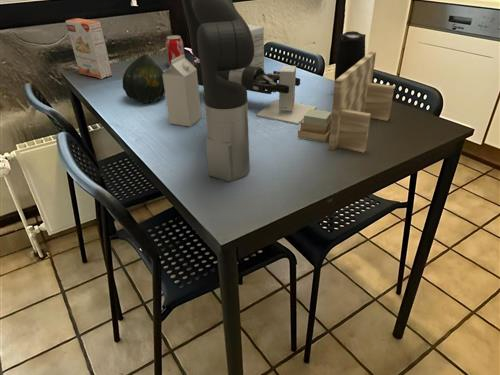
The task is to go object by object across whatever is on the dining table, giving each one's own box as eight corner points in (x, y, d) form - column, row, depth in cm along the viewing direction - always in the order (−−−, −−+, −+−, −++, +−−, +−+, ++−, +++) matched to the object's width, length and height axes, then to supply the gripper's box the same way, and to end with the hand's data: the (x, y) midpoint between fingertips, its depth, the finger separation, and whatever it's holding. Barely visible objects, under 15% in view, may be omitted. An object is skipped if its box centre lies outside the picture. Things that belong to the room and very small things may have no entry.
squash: (118, 94, 125) (143, 53, 123) (112, 83, 137) (134, 45, 135) (156, 116, 134) (181, 79, 131) (147, 104, 146) (169, 69, 143)
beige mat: (297, 124, 116) (297, 123, 116) (256, 115, 122) (256, 114, 122) (316, 108, 126) (316, 106, 125) (277, 100, 132) (277, 99, 132)
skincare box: (292, 111, 120) (294, 71, 114) (278, 110, 121) (279, 71, 114) (294, 103, 125) (296, 65, 118) (281, 103, 126) (282, 65, 119)
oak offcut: (325, 135, 105) (326, 126, 104) (300, 130, 108) (300, 122, 106) (331, 127, 109) (332, 118, 108) (307, 123, 112) (307, 114, 111)
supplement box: (217, 75, 157) (214, 28, 147) (239, 67, 165) (238, 22, 155) (242, 82, 149) (241, 33, 140) (265, 73, 157) (264, 26, 148)
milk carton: (169, 124, 119) (159, 59, 108) (181, 115, 124) (173, 52, 114) (190, 127, 117) (182, 61, 106) (201, 118, 122) (195, 54, 112)
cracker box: (78, 74, 162) (64, 20, 151) (91, 71, 166) (78, 17, 155) (100, 80, 156) (87, 23, 144) (113, 76, 160) (101, 20, 148)
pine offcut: (325, 144, 106) (325, 135, 105) (297, 138, 110) (297, 130, 108) (332, 135, 110) (333, 127, 109) (306, 130, 114) (306, 122, 112)
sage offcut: (325, 126, 104) (326, 119, 103) (303, 122, 106) (304, 115, 105) (331, 119, 108) (331, 112, 107) (309, 115, 110) (310, 108, 109)
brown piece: (361, 156, 99) (371, 85, 89) (328, 149, 103) (334, 80, 93) (390, 116, 119) (401, 55, 109) (362, 111, 123) (370, 51, 113)
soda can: (178, 70, 164) (174, 39, 158) (165, 67, 167) (161, 37, 161) (189, 65, 169) (185, 36, 162) (176, 63, 172) (173, 34, 166)
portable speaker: (340, 88, 141) (346, 29, 130) (364, 93, 135) (373, 33, 125) (327, 94, 135) (332, 34, 125) (352, 101, 130) (360, 38, 119)
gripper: (233, 72, 118) (283, 80, 111) (257, 59, 128) (305, 66, 121) (234, 96, 122) (283, 106, 115) (258, 82, 133) (303, 90, 125)
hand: (294, 86), depth 118 cm, fingers closed on skincare box, 7 cm apart
